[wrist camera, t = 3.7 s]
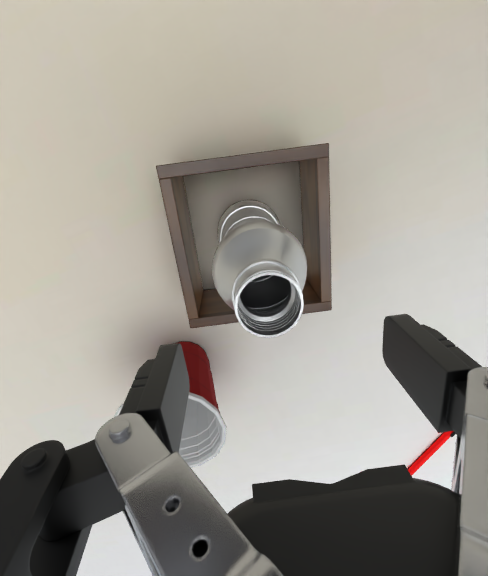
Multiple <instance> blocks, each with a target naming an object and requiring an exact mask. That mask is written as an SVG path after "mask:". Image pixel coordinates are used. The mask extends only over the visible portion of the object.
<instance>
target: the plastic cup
mask: <svg viewBox="0 0 488 576" xmlns="http://www.w3.org/2000/svg"><path fill="white" fill-rule="evenodd" d="M178 343H180V344H181V346H182V350H183V354H184V358H185V363H186V367H187V371H188V376H189V396H188V402H187V408H186V413H185V419H184V425H183V431H182V437H181V442H180V448H179V454H180V455H181V457H182V458H183V459H184V460H185V462H186V463H187V464H188V465H189V467H190V468H191V467H195V466H199V465H202V464H204V463H205V462H207V461H209V460H210V459H212V458H213V457H215V456H216V455H217V454H218V453H219V451H220V450H221V448H222V447H223V445H224V444H225V439H226V425H225V423H224V421H223V419H222V417H221V415H220V412H219V410H218V404H217V402H216V396H215V390H214V384H213V378H212V373H211V370H210V365H209V360H208V357H207V355H206V353H205V351H204V350H203V349H202V348H201V347H200V346H199V345H197V344H194V343H192V342H178ZM175 344H176V343H175ZM123 404H124V403H123ZM123 404H122V405H121V406H120V407H119V408H118V410H117V412H116V414H115V416H114V417H116V416H118V415H119V414H120V411H121V409H122V407H123Z"/></svg>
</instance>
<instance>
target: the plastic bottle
mask: <svg viewBox="0 0 488 576" xmlns="http://www.w3.org/2000/svg"><path fill="white" fill-rule="evenodd" d="M218 240H219V245H218V247H217V250H216V252H215V255H214V258H213V264H212V277H213V281H214V285H215V287H216V289H217V292H218V293H219V295H220V296H221V298H222V299H223V300H224V302H225V303H226V304H227V305H228V306H229V307H230V308H232V309H233V310H234V311H235V314H236V317H237V319H238V321H239V323H240V324H241V325H242V327H243V328H244V329H245V330H247V331H248V332H250V333H251V334H253V335H256V336H259V337H265V338H270V337H276V336H280V335H282V334H285V333H286V332H288V331H290V330H291V329H292V328H293V327H294V326H295V325H296V324H297V322H298V321H299V319H300V317H301V315H302V311H303V305H304V302H303V294H302V290H303V288H304V285H305V281H306V276H307V260H306V255H305V252H304V249H303V247H302V245H301V244H300V242H299V240H298V239H297V238H296V237H295V236H294V235H293V234H292V233H291V232H290V231H288V230H287V229H286V228H284V227H283V226H281V225H280V224H279V221H278V218H277V216H276V215H275V213H274V212H273V211H272V210H271V208H269V207H268V206H267V205H265V204H263V203H261V202H259V201H254V200H245V201H240V202H238V203H235V204H233V205H232V206H231V207H229V208H228V209H227V210H226V211H225V212H224V214H223V216H222V217H221V219H220V222H219V225H218Z"/></svg>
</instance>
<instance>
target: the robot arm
mask: <svg viewBox="0 0 488 576" xmlns="http://www.w3.org/2000/svg"><path fill="white" fill-rule="evenodd" d="M383 358H384V361H385V364H386V366H387V367H388V368H389V370H390V371H391V372H392V374H393V375H394V376H395V378H396V379H397V380H398V381H399V383H400V384H401V385H402V387H403V388H404V389H405V390H406V392H407V393H408V394H409V396H410V397H411V398H412V399H413V401H414V402H415V403H416V405H417V406H418V407H419V408H420V410H421V411H422V412H423V414H424V415H425V416H426V417H427V419H428V420H429V421H430V423H431V424H432V425H433V426H434V428H435V429H436V430H437V432H438V433H441V432H448V431H454V432H455V433H456V434H457V439H456V445H455V456H454V467H453V478H452V488H451V490H450V489H448V488H445V487H443V486H441V485H438V484H435V483H432V482H429V481H425V480H421V479H416V478H412V476H411V475H410V473H409V471H408V469H407V468H406V466H405V465H398V466H390V467H383V468H375V469H367V470H365V471H362V472H360V473H358V474H355V475H353V476H350V477H348V478H346V479H343V480H341V481H338V482H336V483H333V484H324V483H315V482H307V481H298V480H290V479H289V480H282V481H274V482H266V483H258V484H252V489H253V498H251V499H249V500H246V501H245V502H243V503H241V504H239V505H238V506H236V507H235V508H234V509H232V510H231V511H230V512H229V513H228V514H227V513H226V512H225V511H224V509H223V508H222V507H221V506H220V504H219V503H218V502H217V500H216V499H215V498H214V497H213V495H212V494H211V493H210V492H209V490H208V489H207V488H206V487H205V485H204V484H203V483H202V482H201V480H200V479H199V478H198V477H197V475H196V474H195V473H194V472H193V470H192V469H191V468H190V467H189V465H188V464H187V463H186V462H185V460H184V459H183V458H182V457H181V455H180V454H179V448H180V442H181V437H182V431H183V425H184V419H185V413H186V408H187V402H188V396H189V376H188V371H187V367H186V363H185V358H184V354H183V350H182V346H181V344H180V343H176V344H168V345H161V346H160V347H159V350H158V353H157V355H156V358H155V359H151V360H147V361H146V362H145V363H144V364H143V365H142V366H141V367H140V368H139V370H138V372H137V375H136V377H135V380H134V381H133V384H132V386H131V388H130V391H129V393H128V395H127V397H126V400H125V402H124V404H123V407H122V409H121V411H120V414H119V415H118V416H116V417H114V418H112V419H111V420H109V421H108V422H106V423H105V424H104V425H103V426H102V427H101V428H100V429H99V431H98V432H97V434H96V437H95V440H93V441H90V442H88V443H85V444H82V445H80V446H77V447H74V448H72V449H69V450H66V451H65V448H64V446H63V444H62V443H61V442H59V441H56V440H50V441H45V442H41V443H38V444H36V445H34V446H32V447H30V448H29V449H27V450H25V451H24V452H23V453H21V454H20V455H19V456H18V457H17V458H16V459H15V460H14V461H13V462H12V463H11V464H10V466H9V467H8V469H7V470H6V472H5V473H4V475H3V476H2V478H1V479H0V576H76V574H77V571H78V568H79V564H80V561H81V558H82V555H83V552H84V549H85V546H86V543H87V540H88V537H89V534H90V530H91V527H92V524H95V523H97V522H99V521H101V520H103V519H106V518H108V517H110V516H112V515H114V514H117V513H119V512H121V511H123V513H124V515H125V517H126V519H127V522H128V524H129V526H130V528H131V530H132V532H133V534H134V536H135V539H136V541H137V543H138V545H139V547H140V549H141V551H142V553H143V556H144V558H145V560H146V562H147V564H148V566H149V569H150V571H151V573H152V576H488V367H482V366H481V365H479V364H478V363H477V362H476V361H474V360H473V359H472V358H471V357H469V356H468V355H467V354H466V353H464V352H463V351H462V350H461V349H459V348H458V347H455V345H454V344H453V343H452V342H451V341H450V340H447V338H446V337H445V336H443V335H442V334H441V333H440V332H438V331H437V330H435V329H432V328H430V327H428V326H426V325H420V324H419V323H418V322H416V321H415V320H414V319H413V318H412V317H411V316H409V315H408V314H401V315H394V316H387V317H385V319H384V330H383Z"/></svg>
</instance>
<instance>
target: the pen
mask: <svg viewBox="0 0 488 576" xmlns="http://www.w3.org/2000/svg"><path fill="white" fill-rule="evenodd" d="M455 434H456V433H455V432H454V431H448V432H444V433H443V434H442V435H441V436H440V437H439V438H438V439H437V440H436V441H435V442H434V443H433V444H432V445H431V446H430V447H429V448H428V449H427V450H426V451H425V452H424V453H423V454H422V455H421V456H420V457H419V458H418V459H417V460H416V461H415V462H414V463H413V464H412V465H411V466H410V467H409V468H408V471H409V473H410V475H411V476H412V475H413V474H414V473H415V472H416V471H417V470H418V469H419V468H420V467H421V466H422V465H423V464H424V463H425V462H426V461H427V460H428V459H429V458H430V457H431V456H432V455H433V454H434V453H435V452H436V451H437V450H438V449H439V448H440V447H441V446H442V445H443V444H444V443H445V442H446V441H447V440H448V439H449V438H450V437H453V436H454V435H455Z"/></svg>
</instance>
